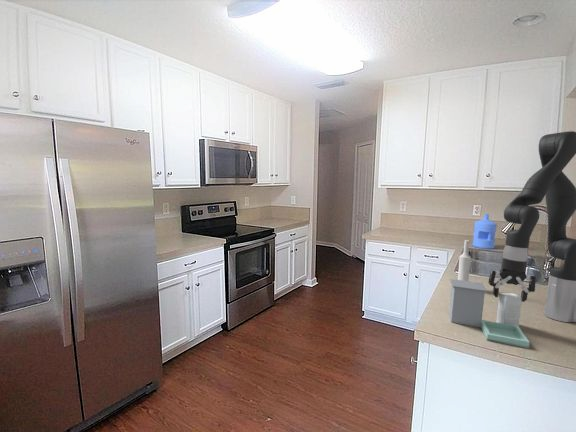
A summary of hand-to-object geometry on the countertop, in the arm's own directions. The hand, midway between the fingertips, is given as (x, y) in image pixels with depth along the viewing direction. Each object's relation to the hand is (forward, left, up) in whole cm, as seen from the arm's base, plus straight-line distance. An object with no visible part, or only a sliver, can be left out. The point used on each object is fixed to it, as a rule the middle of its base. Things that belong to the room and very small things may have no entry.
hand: (509, 298), depth 117 cm
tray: (+4, +11, -10) cm, 16 cm away
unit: (+15, +3, -10) cm, 18 cm away
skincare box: (0, 0, -11) cm, 11 cm away
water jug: (-22, -160, -11) cm, 162 cm away
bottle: (+10, -39, -11) cm, 42 cm away
